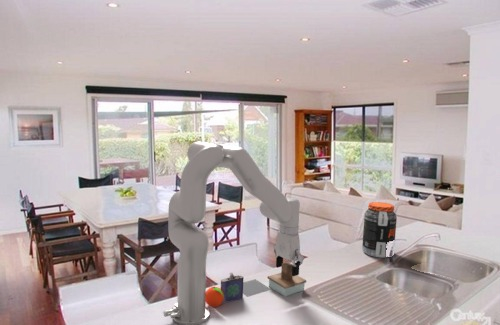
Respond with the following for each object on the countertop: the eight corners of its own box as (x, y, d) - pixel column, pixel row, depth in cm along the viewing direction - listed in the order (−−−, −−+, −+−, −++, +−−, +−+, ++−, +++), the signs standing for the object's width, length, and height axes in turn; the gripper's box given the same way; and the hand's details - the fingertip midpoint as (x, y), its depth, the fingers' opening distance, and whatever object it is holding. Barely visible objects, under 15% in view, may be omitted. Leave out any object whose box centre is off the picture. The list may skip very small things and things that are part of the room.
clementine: (229, 306, 137) (230, 287, 136) (217, 313, 131) (217, 294, 131) (213, 299, 142) (213, 281, 141) (200, 306, 136) (200, 287, 135)
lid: (284, 288, 143) (285, 271, 142) (267, 278, 152) (268, 262, 151) (306, 282, 149) (307, 265, 148) (288, 272, 158) (288, 256, 157)
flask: (221, 305, 137) (222, 277, 136) (218, 301, 140) (219, 274, 139) (244, 300, 142) (244, 272, 141) (240, 296, 144) (241, 269, 143)
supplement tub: (390, 261, 185) (394, 209, 182) (358, 254, 193) (361, 205, 190) (396, 251, 198) (400, 203, 195) (366, 245, 206) (369, 199, 203)
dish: (284, 298, 144) (285, 288, 144) (268, 287, 152) (269, 278, 152) (304, 291, 150) (304, 282, 149) (287, 282, 158) (288, 273, 158)
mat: (247, 298, 143) (247, 296, 143) (232, 287, 152) (232, 285, 152) (271, 290, 150) (271, 289, 150) (255, 280, 159) (255, 279, 159)
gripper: (267, 225, 153) (266, 265, 155) (296, 237, 139) (294, 281, 141) (282, 222, 157) (280, 261, 159) (311, 233, 143) (309, 276, 145)
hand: (287, 270), depth 150 cm, fingers open, 9 cm apart
